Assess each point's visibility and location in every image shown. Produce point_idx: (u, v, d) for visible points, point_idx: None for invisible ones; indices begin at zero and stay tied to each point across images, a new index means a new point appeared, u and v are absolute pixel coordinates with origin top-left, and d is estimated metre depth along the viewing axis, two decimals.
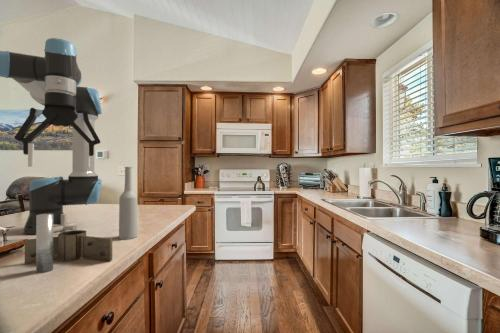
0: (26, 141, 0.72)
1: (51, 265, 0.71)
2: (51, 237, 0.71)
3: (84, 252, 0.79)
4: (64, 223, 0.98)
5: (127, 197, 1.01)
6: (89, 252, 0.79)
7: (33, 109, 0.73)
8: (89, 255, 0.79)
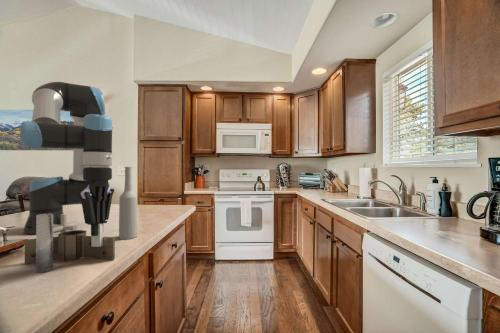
0: (99, 222, 0.77)
1: (51, 265, 0.71)
2: (51, 237, 0.71)
3: (85, 252, 0.80)
4: (64, 223, 0.98)
5: (127, 197, 1.01)
6: (90, 251, 0.79)
7: (88, 193, 0.73)
8: (90, 255, 0.80)
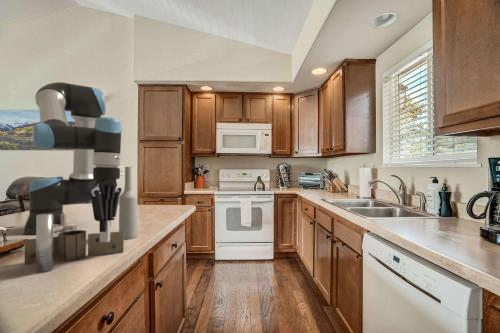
0: (107, 219, 0.82)
1: (51, 265, 0.71)
2: (51, 237, 0.71)
3: (90, 249, 0.82)
4: (64, 223, 0.98)
5: (127, 197, 1.01)
6: (97, 248, 0.83)
7: (98, 191, 0.78)
8: (96, 251, 0.83)
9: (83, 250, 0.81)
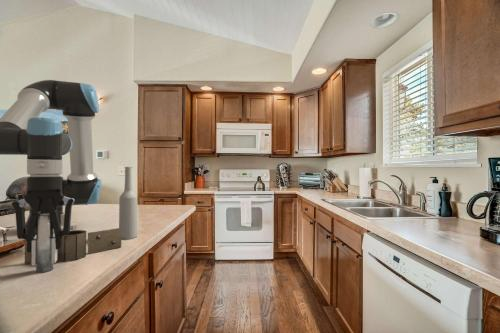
0: (30, 238, 0.68)
1: (51, 265, 0.71)
2: (51, 237, 0.71)
3: (91, 247, 0.84)
4: None
5: (127, 197, 1.01)
6: (97, 245, 0.86)
7: (15, 203, 0.67)
8: (97, 249, 0.85)
9: (83, 250, 0.81)
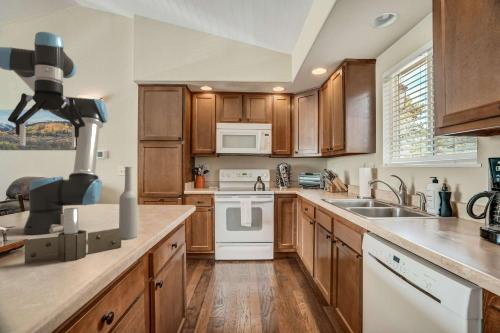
0: (18, 122, 0.82)
1: None
2: (77, 228, 0.81)
3: (91, 247, 0.84)
4: None
5: (127, 197, 1.01)
6: (97, 245, 0.86)
7: (24, 94, 0.83)
8: (97, 249, 0.85)
9: (83, 250, 0.81)
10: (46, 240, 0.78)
